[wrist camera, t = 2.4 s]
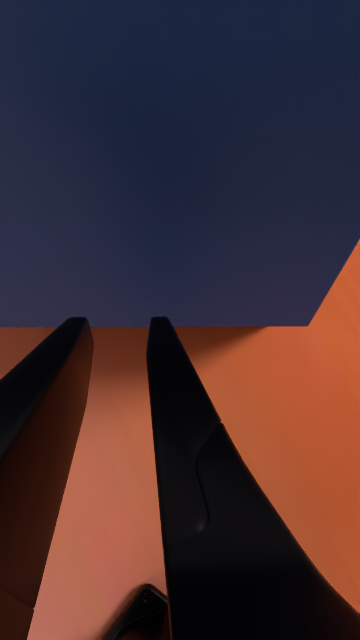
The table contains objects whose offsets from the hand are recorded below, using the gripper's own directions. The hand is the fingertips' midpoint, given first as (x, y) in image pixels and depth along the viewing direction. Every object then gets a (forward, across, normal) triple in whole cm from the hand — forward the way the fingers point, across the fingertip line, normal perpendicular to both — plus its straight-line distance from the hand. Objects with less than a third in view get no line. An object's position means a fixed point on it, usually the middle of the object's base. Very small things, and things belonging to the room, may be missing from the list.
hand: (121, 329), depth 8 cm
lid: (+4, 0, -1) cm, 4 cm away
